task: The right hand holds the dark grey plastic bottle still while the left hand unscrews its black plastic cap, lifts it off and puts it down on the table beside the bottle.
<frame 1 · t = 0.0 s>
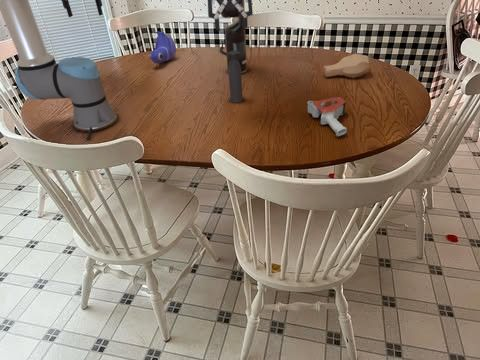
left hand: (85, 15, 157), 28 cm above the table, tool pointing down, fingers open, 13 cm apart
right hand: (231, 30, 117), 29 cm above the table, tool pointing down, fingers open, 8 cm apart
tape dispenser: (328, 121, 124), on the table
bottle: (236, 100, 143), on the table
cap: (233, 53, 132), point 19 cm above the table, screwed on, not yet turned
squash: (345, 75, 158), on the table
toy: (163, 63, 187), on the table
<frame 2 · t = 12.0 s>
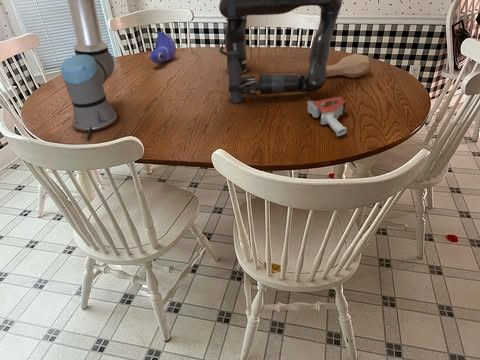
left hand: (232, 37, 129), 24 cm above the table, tool pointing down, fingers open, 6 cm apart
right hand: (229, 86, 140), 6 cm above the table, tool horizontal, fingers closed on bottle, 5 cm apart
bottle: (236, 100, 143), on the table, touching right hand
everything else where it was.
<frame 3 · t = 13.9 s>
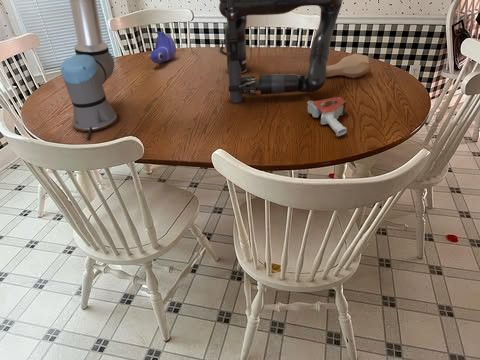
left hand: (234, 58, 133), 17 cm above the table, tool pointing down, fingers closed on cap, 4 cm apart
right hand: (229, 86, 140), 6 cm above the table, tool horizontal, fingers closed on bottle, 5 cm apart
bottle: (236, 100, 143), on the table, touching right hand
cap: (233, 53, 132), point 19 cm above the table, screwed on, not yet turned, touching left hand
everything else where it was.
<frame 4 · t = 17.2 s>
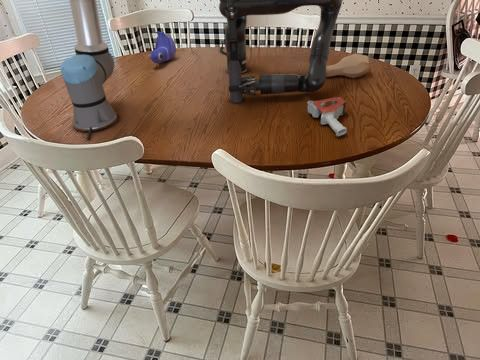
left hand: (234, 58, 133), 17 cm above the table, tool pointing down, fingers closed on cap, 4 cm apart
right hand: (229, 86, 140), 6 cm above the table, tool horizontal, fingers closed on bottle, 5 cm apart
bottle: (236, 100, 143), on the table, touching right hand
cap: (233, 53, 132), point 19 cm above the table, turned 93° so far, risen 0.1 cm, still on its thread, touching left hand
everything else where it was.
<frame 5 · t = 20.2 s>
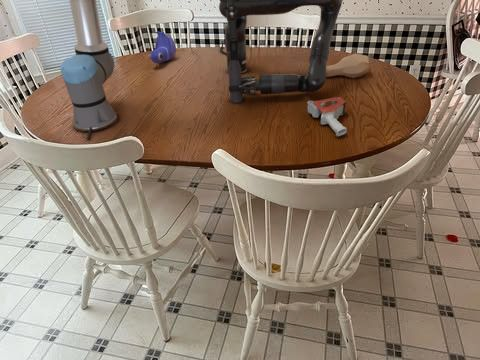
left hand: (234, 57, 133), 17 cm above the table, tool pointing down, fingers closed on cap, 4 cm apart
right hand: (229, 86, 140), 6 cm above the table, tool horizontal, fingers closed on bottle, 5 cm apart
bottle: (236, 100, 143), on the table, touching right hand
cap: (233, 52, 132), point 19 cm above the table, turned 186° so far, risen 0.2 cm, still on its thread, touching left hand
everything else where it was.
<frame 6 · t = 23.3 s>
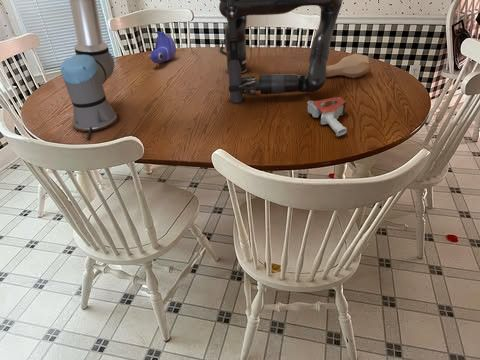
left hand: (233, 57, 133), 17 cm above the table, tool pointing down, fingers closed on cap, 4 cm apart
right hand: (229, 86, 140), 6 cm above the table, tool horizontal, fingers closed on bottle, 5 cm apart
bottle: (236, 100, 143), on the table, touching right hand
cap: (233, 52, 132), point 19 cm above the table, turned 280° so far, risen 0.3 cm, still on its thread, touching left hand
everything else where it was.
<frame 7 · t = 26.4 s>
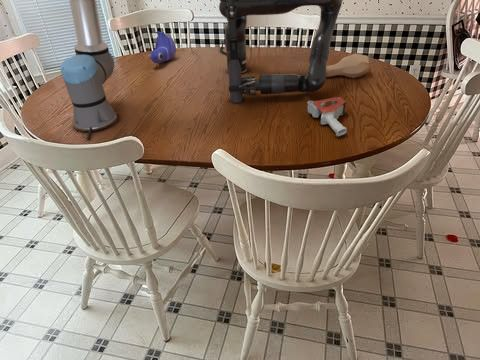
left hand: (233, 57, 133), 17 cm above the table, tool pointing down, fingers closed on cap, 4 cm apart
right hand: (229, 86, 140), 6 cm above the table, tool horizontal, fingers closed on bottle, 5 cm apart
bottle: (236, 100, 143), on the table, touching right hand
cap: (233, 52, 132), point 19 cm above the table, turned 373° so far, risen 0.4 cm, still on its thread, touching left hand
everything else where it was.
when the left hand's fingers open (1 cm above the table, at t = 32.2 s): cap drops 1 cm, point 2 cm above the table.
when the right hand's fingers open (6 cm above the table, at t = 33.5 s): bottle stays where it is, on the table.
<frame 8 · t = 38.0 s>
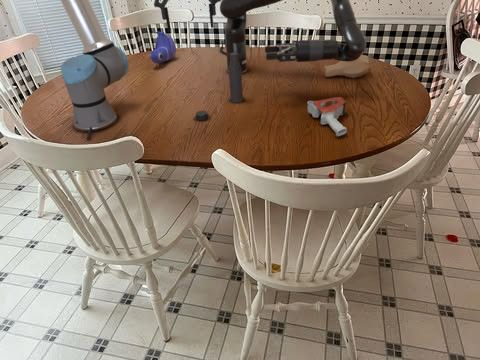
left hand: (190, 28, 113), 31 cm above the table, tool pointing down, fingers open, 13 cm apart
right hand: (265, 53, 132), 18 cm above the table, tool horizontal, fingers open, 8 cm apart
bottle: (236, 100, 143), on the table
cap: (201, 113, 131), point 2 cm above the table, off its thread
everything else where it was.
at the end: cap came off its thread; cap point 1.8 cm above the table; the left hand is holding nothing; the right hand is holding nothing; bottle tilted 0°; bottle moved 0.1 cm from its start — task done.
